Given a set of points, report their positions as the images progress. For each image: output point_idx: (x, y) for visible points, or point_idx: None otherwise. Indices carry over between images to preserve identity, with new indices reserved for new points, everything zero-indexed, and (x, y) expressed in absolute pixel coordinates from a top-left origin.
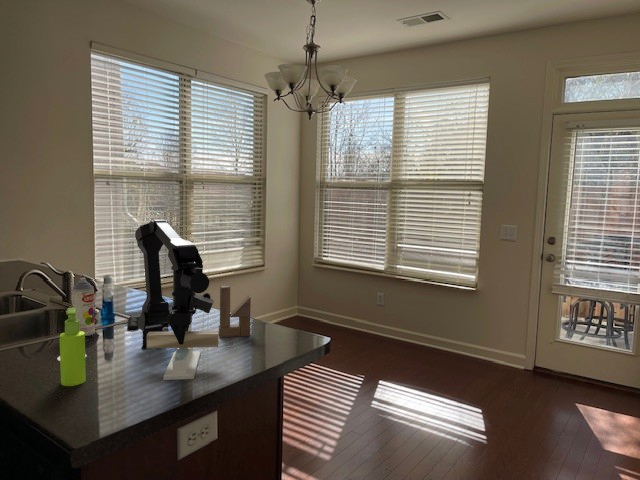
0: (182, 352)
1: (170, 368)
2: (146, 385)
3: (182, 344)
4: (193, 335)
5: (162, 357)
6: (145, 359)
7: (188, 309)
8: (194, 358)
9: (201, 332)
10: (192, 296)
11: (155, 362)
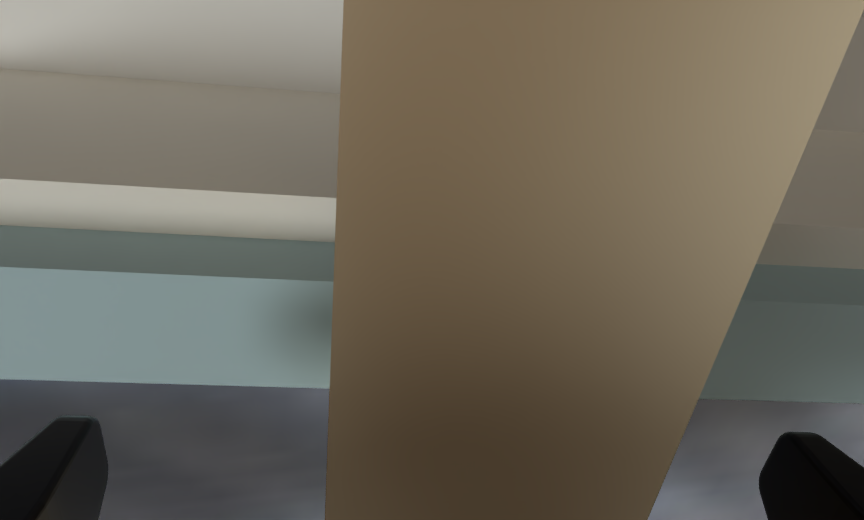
0: (804, 333)
1: None
2: (845, 425)
3: (800, 436)
4: (686, 355)
5: (92, 393)
6: (167, 510)
7: None
8: (249, 30)
9: (556, 130)
10: None
11: (259, 431)
